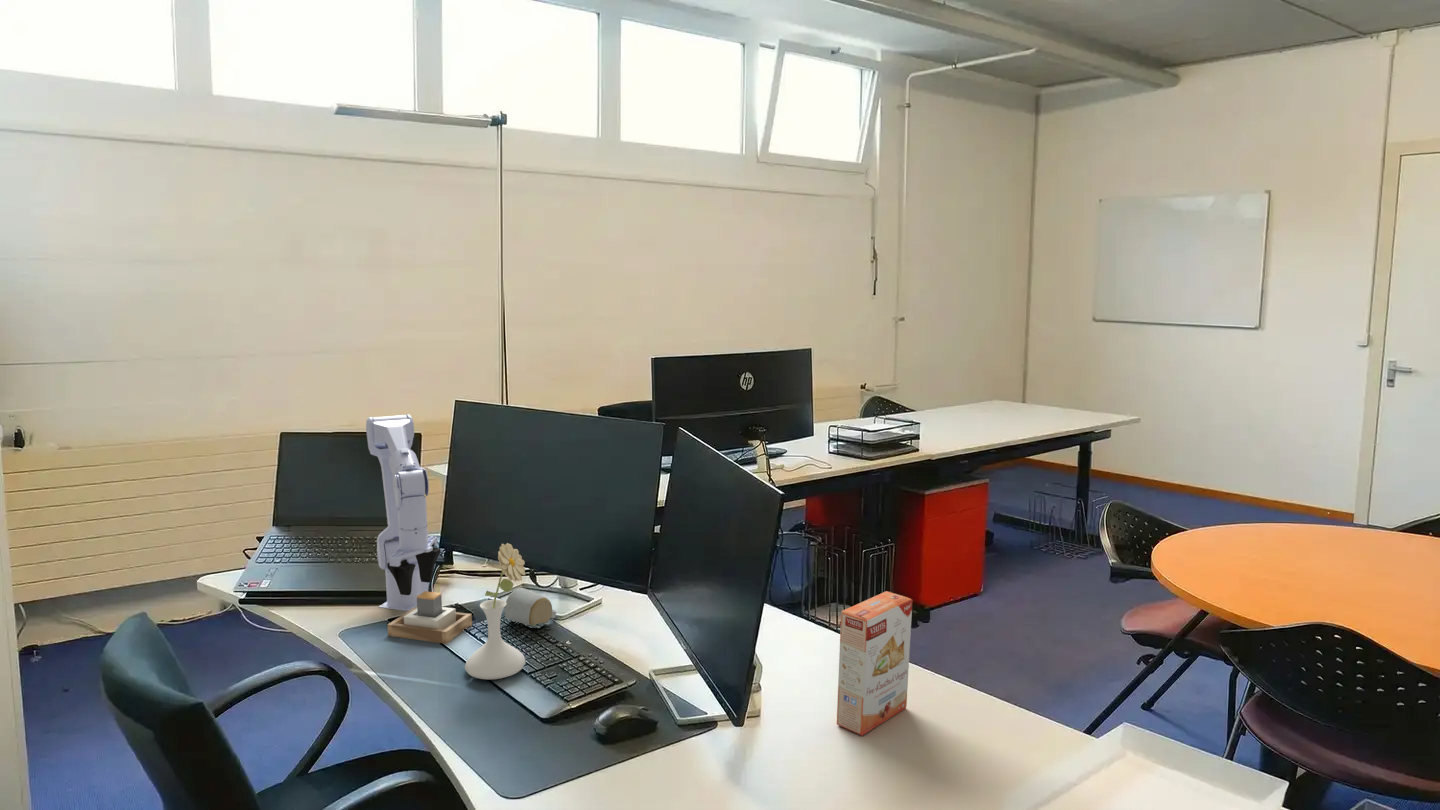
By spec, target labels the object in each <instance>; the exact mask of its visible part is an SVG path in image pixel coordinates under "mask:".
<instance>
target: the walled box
mask: <svg viewBox="0 0 1440 810" xmlns="http://www.w3.org/2000/svg"><path fill="white" fill-rule="evenodd" d="M415 609H417V606H416V607H414V608H413V609H411V610H409V611H406V612H405V613H404V614H402V615H400V616H399V617H397V618H395V619H394V620H392V621H391V622H389V623H387V624H386V625H387V627H386V628H387V636H388V637H393V638H401V639H408V640H409V639H410V640H416V641H422V642H423V641H424V642H430V643H438V644H444V645H446V644H447V645H448V643H450V642H451V641H452V640H454V639H455V638H456V637H455V636H457V635H458V634H459V635H461V634H462V633H463V632H462V631H463V630H464V629H466V628H468V627H469V626H470V627H472V626H473V615H472V613H467V612H466V613H465V612H460V611H459V612H458V611H456V622H455V623H453V624H452V625H450V626H449V627H448V628H446V629H445V630H443V629H435V628H428V627H420V626H412V625H405V624H404V616H405V615H407V614H409V613H410V612H412V611H413V610H415ZM470 627H469V628H470ZM469 628H468V629H469ZM466 630H467V629H466ZM461 632H462V633H461ZM460 633H461V634H460ZM459 635H458V636H459ZM458 636H457V637H458ZM454 637H455V638H454ZM453 638H454V639H453Z"/></svg>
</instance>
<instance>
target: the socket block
mask: <svg viewBox="0 0 1440 810" xmlns="http://www.w3.org/2000/svg"><path fill="white" fill-rule="evenodd" d="M456 610H457V609H456V608H454V607H445V606H442V614H440V615H439V616H437V617H436V618H432V617H424V616H418V612H417V609H415V610H413V611H412V612H410V613H409V614H407V615H405V616H404V624H405V625H412V626H420V627H428V628H435V629H443V630H445V629H446V628H448V627H449V626H450V625H452V624H453V623H455V622H456V612H457V611H456Z"/></svg>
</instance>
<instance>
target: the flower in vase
mask: <svg viewBox="0 0 1440 810" xmlns="http://www.w3.org/2000/svg"><path fill="white" fill-rule="evenodd" d="M500 545H501V546H499V551H497V553H498V556H497V559H498V561H499V566H500V567H501V573H500V576H499V579H498V583H497V587H496V592H492V591H489V590H486V592H485V595H484V596H486V597H494V598H493V599H488V600H485V601H482V602H481V603H480V604H479V608H480V609H481V610H482V611H483V612H484V615H485V617H486V622H487V630H488V631H487V632H488V635H487V639H486V641H485V643H484V644H483V645H481V646H480V647H479V648H478V649H477V650H475V651H474V652H473V653H472V654H471V655H470V656H469V657H468V658H467V660H466V662H465V664H464V669H465V672H466V673H467V674H468V675H469V676H470V677H473V678H474V679H480V680H499V679H503V678H509V677H510V676H513V675H516V674H517V673H519V672H520V671H521V670H522V669H523V668H524V666H525V664H526V658H525V656H524V654H523V653H522V652H521V651H520V650H518V649H517V648H516V647H514V646H512V645H510V644H509V643H508V642H505V641H504V640H503V638H502V635H501V620H502V619H501V618H502V615H503V610H504V609H505V606H506V604H507V603H506V600H503V599H497V597H498V595H499V594H500V593H499V589H501V590H502V591H503V592H505V593H508V592H510V591H511V590H512V589H513V588H514V582H521V581H523V576H526V572H525V571H526V568H525V566H524V565H525V560H524V559H522V558H523V557H522V555H521V554H519V553H520V551H519V550H518V548H514V547H513V545H512V544H511V543H508V542H507V543H505V544H504V543H501V544H500ZM503 575H505V576H506V577H507V578H503Z"/></svg>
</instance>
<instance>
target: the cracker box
mask: <svg viewBox="0 0 1440 810" xmlns="http://www.w3.org/2000/svg"><path fill="white" fill-rule="evenodd" d="M913 601H914V600H913V599H912V598H910V597H907V596H904V595H901V594H897V593H894V592H891V591H887V590H886V591H884V592H881V593H880V594H877V595H874V596H873V597H870V598H868V599H865V600H864V601H861V602H860V603H857V604H855V605H852V606H849V607H848V608H845V609H843V610H841V613H840V631H839V633H840V634H839V653H838V654H839V657H838V659H839V660H838V682H837V683H838V684H837V702H836V703H837V706H836V725H837V726H840V727H842V728H844V729H846V730H848V731H850V732H853V733H855V734H857V735H860V736H864V735H866V734H867V733H869V732H871V731H872V730H874V729H875V728H877V727H878V726H880V725H882V724H883V723H885V722H887V721H888V720H889V719H891V718H893V717H894V716H896V715H898V714H899V713H901V712H902V711H904V710H905V709H907V704H908V686H909V685H908V684H909V668H910V652H911V651H910V650H911V637H912V635H911V634H912V633H911V632H912V631H911V630H912V620H913V619H912V616H913V615H912V614H913V612H912V611H913Z"/></svg>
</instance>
